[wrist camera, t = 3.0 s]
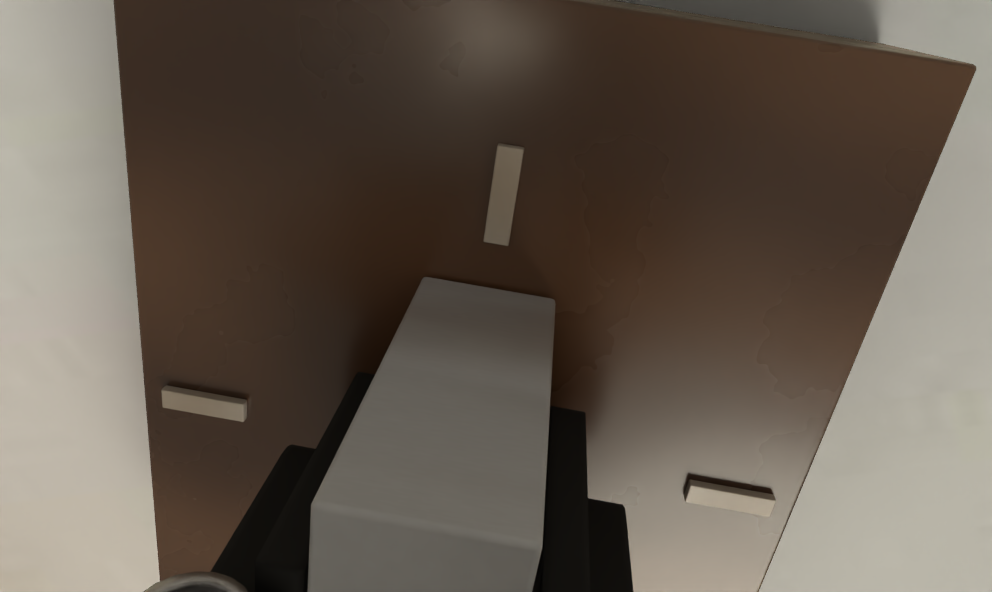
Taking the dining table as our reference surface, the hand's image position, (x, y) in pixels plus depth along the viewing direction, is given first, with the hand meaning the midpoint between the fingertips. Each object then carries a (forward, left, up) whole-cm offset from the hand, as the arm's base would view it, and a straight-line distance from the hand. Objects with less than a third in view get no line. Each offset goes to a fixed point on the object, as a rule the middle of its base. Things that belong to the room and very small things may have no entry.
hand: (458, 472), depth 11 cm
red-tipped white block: (0, 0, -1) cm, 1 cm away
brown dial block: (0, 0, -4) cm, 4 cm away
